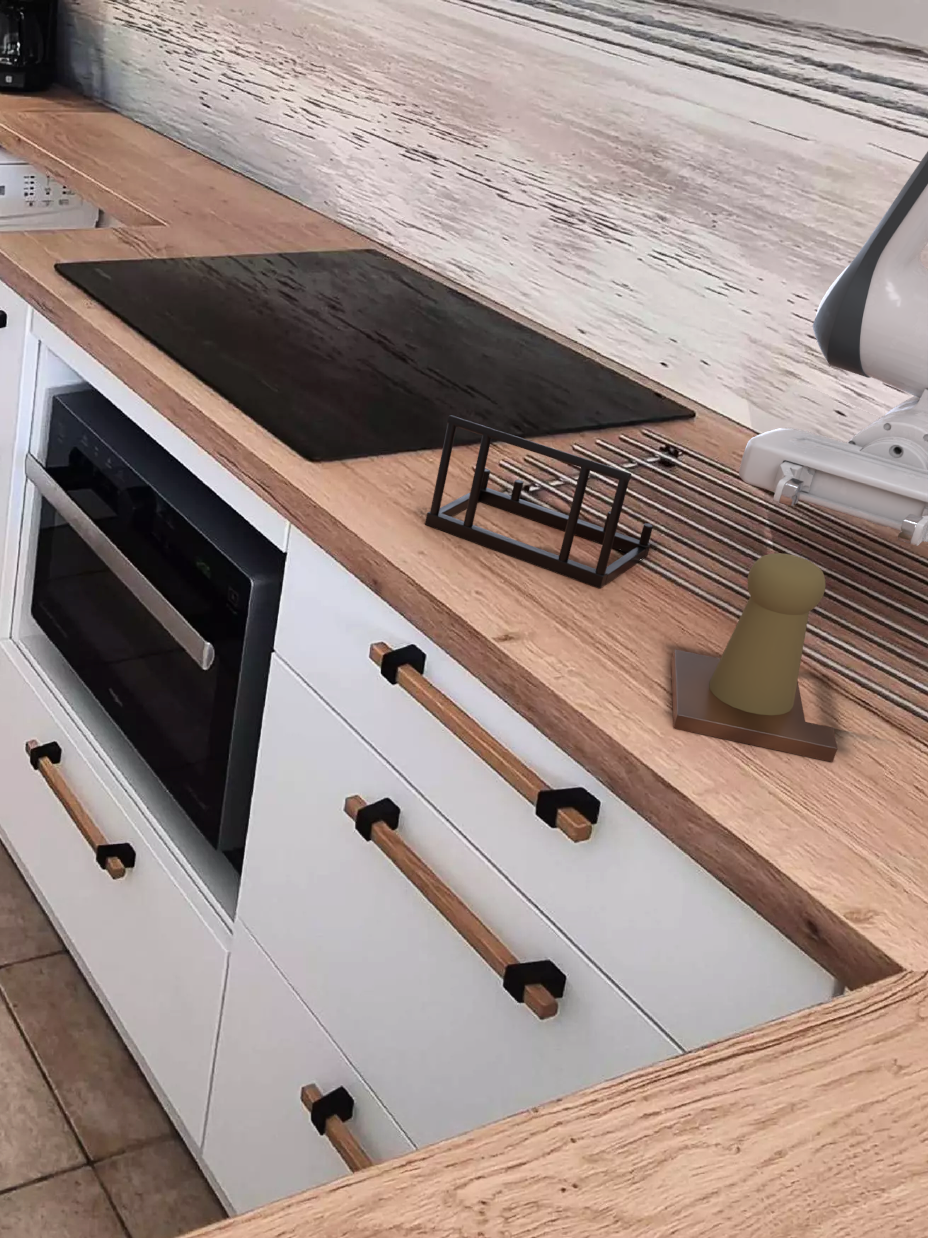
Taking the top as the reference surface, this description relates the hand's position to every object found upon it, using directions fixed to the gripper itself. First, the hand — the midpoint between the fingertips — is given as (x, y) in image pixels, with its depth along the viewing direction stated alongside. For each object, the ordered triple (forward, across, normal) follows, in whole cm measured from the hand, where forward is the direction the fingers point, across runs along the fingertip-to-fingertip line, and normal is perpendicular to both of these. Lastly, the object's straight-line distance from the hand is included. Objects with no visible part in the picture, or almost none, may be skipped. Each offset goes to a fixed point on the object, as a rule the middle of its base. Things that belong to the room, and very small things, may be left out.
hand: (845, 513), depth 127 cm
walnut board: (+12, 0, +13) cm, 17 cm away
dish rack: (-5, -25, +12) cm, 29 cm away
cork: (+12, 0, +12) cm, 16 cm away
